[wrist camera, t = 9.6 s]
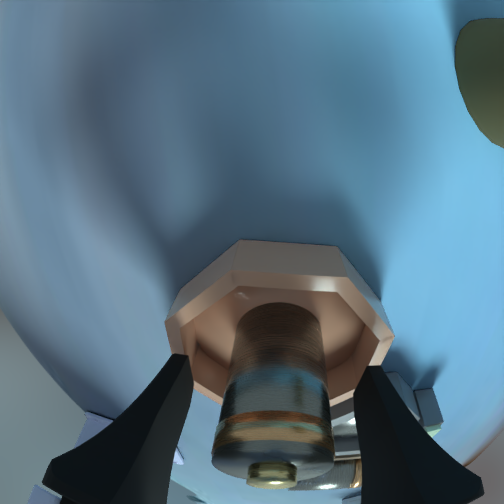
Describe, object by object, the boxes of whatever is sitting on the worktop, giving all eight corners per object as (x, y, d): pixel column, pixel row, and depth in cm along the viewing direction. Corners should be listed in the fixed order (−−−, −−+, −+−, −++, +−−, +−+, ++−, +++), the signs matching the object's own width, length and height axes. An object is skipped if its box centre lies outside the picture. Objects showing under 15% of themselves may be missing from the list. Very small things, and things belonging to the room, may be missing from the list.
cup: (194, 375, 16) (185, 405, 14) (173, 235, 11) (153, 263, 9) (347, 385, 15) (351, 415, 13) (397, 251, 11) (417, 281, 9)
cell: (236, 359, 14) (214, 490, 8) (233, 298, 12) (198, 459, 6) (314, 363, 14) (321, 494, 8) (329, 303, 12) (352, 464, 6)
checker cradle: (296, 428, 18) (296, 467, 15) (315, 374, 15) (319, 425, 12) (405, 421, 18) (413, 455, 15) (447, 366, 14) (464, 406, 11)
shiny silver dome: (314, 429, 17) (314, 438, 16) (331, 393, 15) (332, 404, 14) (378, 425, 17) (380, 434, 16) (406, 389, 14) (409, 399, 14)
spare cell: (288, 454, 22) (285, 491, 19) (295, 445, 19) (292, 489, 16) (360, 451, 21) (360, 488, 18) (375, 442, 19) (377, 483, 16)
